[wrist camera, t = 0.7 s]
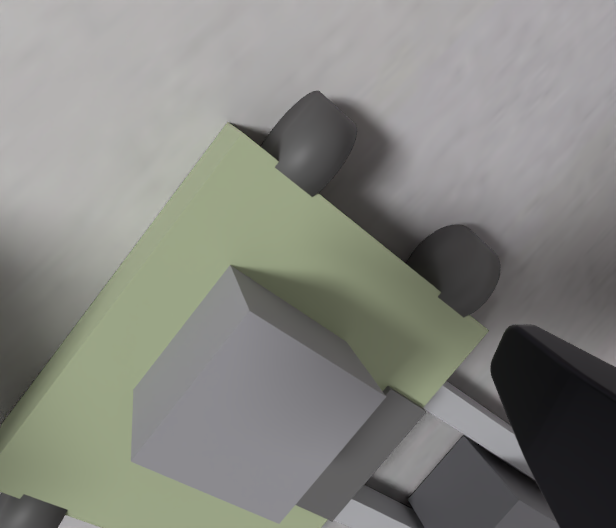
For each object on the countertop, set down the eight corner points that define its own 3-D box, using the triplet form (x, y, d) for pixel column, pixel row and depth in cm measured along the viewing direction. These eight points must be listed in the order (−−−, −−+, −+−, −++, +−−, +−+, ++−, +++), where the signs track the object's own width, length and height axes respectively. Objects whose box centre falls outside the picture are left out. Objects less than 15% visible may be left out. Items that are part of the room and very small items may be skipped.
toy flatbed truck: (414, 634, 36) (477, 769, 29) (-37, 475, 23) (-114, 649, 16) (635, 389, 33) (761, 472, 27) (273, 61, 21) (336, 59, 14)
